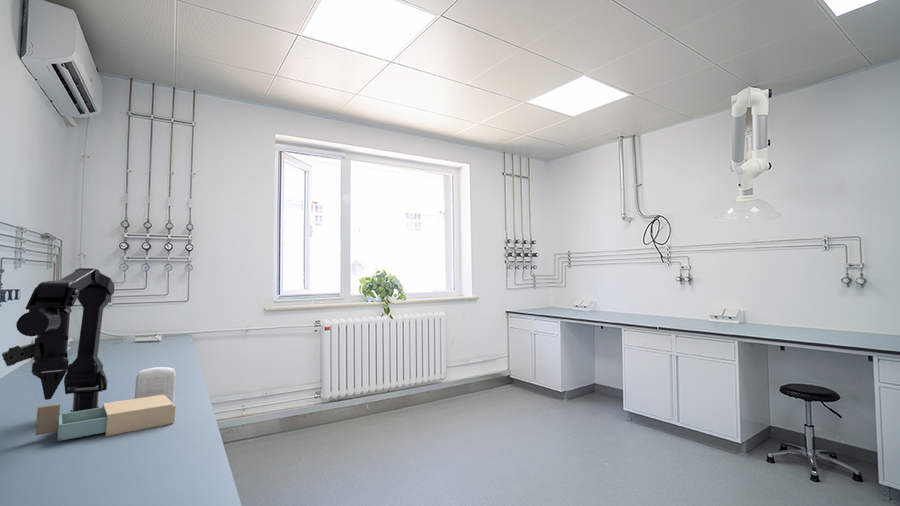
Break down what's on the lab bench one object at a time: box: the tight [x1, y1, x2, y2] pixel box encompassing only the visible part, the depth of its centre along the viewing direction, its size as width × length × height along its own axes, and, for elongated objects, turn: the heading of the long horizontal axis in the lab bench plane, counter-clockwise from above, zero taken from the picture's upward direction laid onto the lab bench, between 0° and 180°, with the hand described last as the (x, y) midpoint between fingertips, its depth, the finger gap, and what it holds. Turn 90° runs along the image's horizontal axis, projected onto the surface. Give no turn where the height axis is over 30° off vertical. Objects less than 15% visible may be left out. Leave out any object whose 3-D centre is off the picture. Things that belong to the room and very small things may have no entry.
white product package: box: [134, 366, 177, 405], centre depth 130 cm, size 10×4×12 cm, turn 123°
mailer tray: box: [35, 403, 107, 442], centre depth 108 cm, size 12×18×7 cm, turn 133°
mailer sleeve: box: [102, 395, 176, 437], centre depth 115 cm, size 14×15×5 cm
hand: (48, 395), depth 103 cm, fingers open, 9 cm apart
